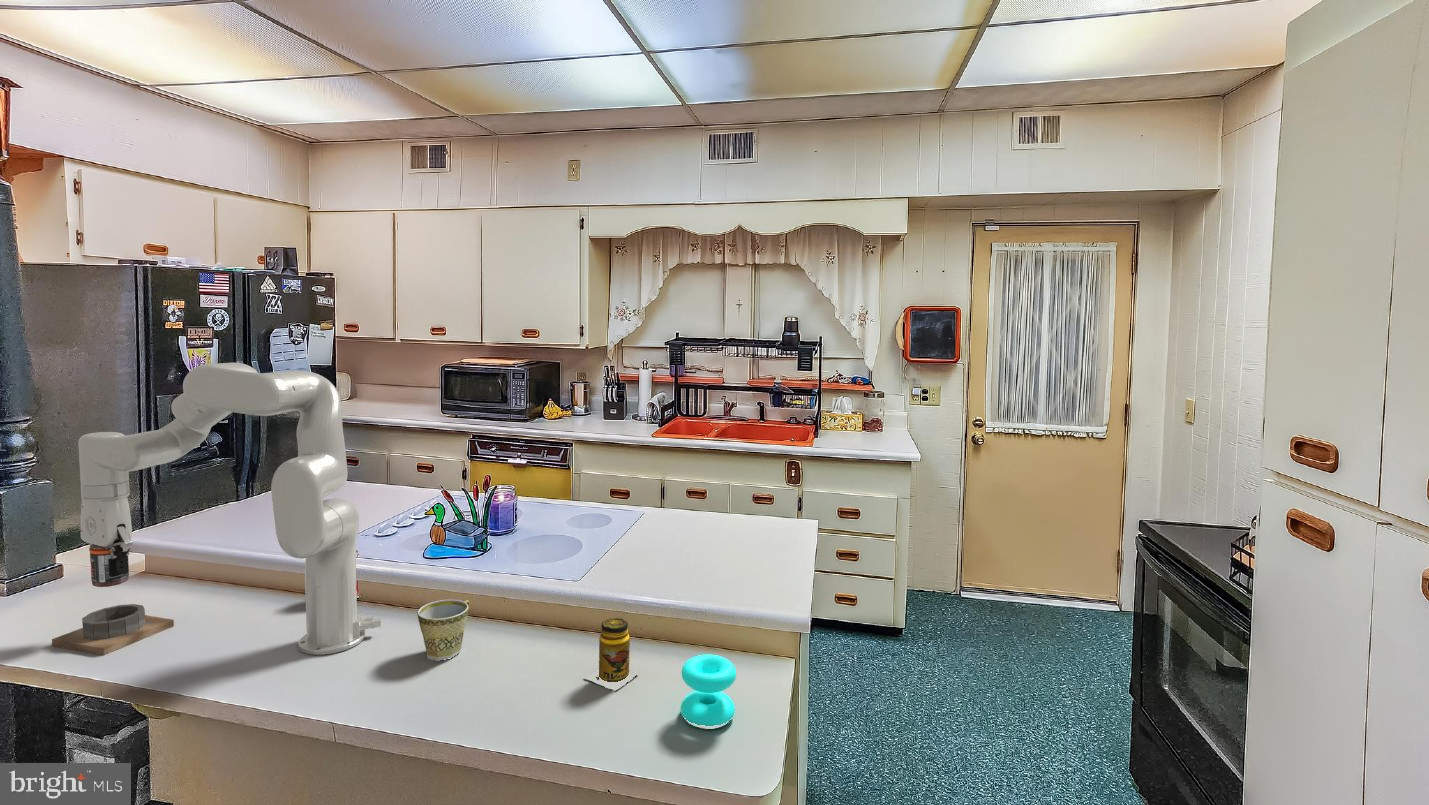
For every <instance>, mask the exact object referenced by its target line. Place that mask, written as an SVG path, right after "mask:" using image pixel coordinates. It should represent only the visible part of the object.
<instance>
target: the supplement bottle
mask: <svg viewBox="0 0 1429 805" xmlns="http://www.w3.org/2000/svg"><path fill="white" fill-rule="evenodd" d="M118 542H121V541H120V540H115V541H114V542H113V543H118ZM89 547H90V551H89V561H90V576H91V577H90V578H91V580H90V581H91V584H92V586H93V587H95V588H96V587H97V588H108V587H109V588H110V587H114V586H118V585H121V584H123V583H126V582H127V581H128V580H129V579H130V571H129V572H128V573H126V574H122V575H119V576H115V577H110V576H109V563H108V559H110V558H111V557H110V553H109V549H108V546H107V547H101V546H97V545H94V544H92V545H91V546H90V545H89ZM118 547H120V545H119V546H114V548H115V551H116V550H117V548H118Z"/></svg>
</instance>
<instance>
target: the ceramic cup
mask: <svg viewBox="0 0 1429 805" xmlns="http://www.w3.org/2000/svg"><path fill="white" fill-rule="evenodd" d="M470 604H471V603H470V600H468V599H462V600H459V599H442V600H436V601H431V602H428V603H426V604H424V605H422V606H421V607H420V608H419V609H418V610H417V618H418V619H417V620H418V624H419V627H420V630H421V634H422V638H423V642H424V646H425V653H426V657H427V659H428V660H429V659H431V660H430V661H433V660H435V661H434V662H437V661H439V662H441V661H440V660H444V659H448V658H452V657H453V656H455V655H457V654H458V653H461V650H462V645H463V638H464V633H465V629H466V628H465V627H466V625H467V624H466V623H467V618H468V614H469V609H470V606H471V605H470ZM458 655H459V654H458ZM458 655H457V656H458ZM455 657H456V656H455ZM452 659H453V658H452ZM444 661H445V660H444Z"/></svg>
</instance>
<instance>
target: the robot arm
mask: <svg viewBox="0 0 1429 805" xmlns="http://www.w3.org/2000/svg"><path fill="white" fill-rule="evenodd" d="M182 392H183V393H181V394H180V395H178V396H177V397H175V398H174V399H173V401H172V402H171V412H172V415H173V416H174V419H173V420H172V421H171V422H168V423H167V424H166V425H165V426H163V427H162V428H160V429H157V430H155V429H154V430H149V431H143V432H139V433H134V434H133V433H132V434H126V435H125V434H124V433H122V432H117V431H99V432H98V431H97V432H90V433H86V434H82V435H81V436H80V437H79V439H78V446H77V447H78V460H79V476H80V494H81V497H80V498H81V506H80V539H81V540H82V541H83V542H84V543H87V544H88V545H89V547H88V552H90V546H91V545H92V544H94V545H97V546H101V547H107V546H108V549H109V553H110V557H111V558H110V559H108V563H109V576H110V577H115V576H119V575H122V574H126V573H128V572H129V573H130V569H129V568H130V567H129V564H130V563H129V555H130V549H131V547H132V546H133V544H134V543H133V541H132V537H133V536H132V535H133V527H132V516H131V515H132V514H131V510H130V504H129V499H128V497H129V496H130V495H131V493H130V492H131V491H130V472H134V471H139V470H143V469H148V468H150V467H151V468H152V467H155V466H159V465H163V464H164V465H165V464H169V463H171V462H174V461H177V460H178V459H180V458H182V457H183V456H185V455H187V454H188V453H189V452H190V451H192V450H194V449H195V448H196V447H198V446H200V445H201V444H202V443H203V442H204V441H205V440H206V439H207V437H208V435H209V434H210V431H211V429H212V427H213V426H215V425H217V423H220V422H221V421H222V420H223V419H225V418H226V417H227V416H229V415H230V414H233V413H237V414H242V415H243V414H244V415H250V416H261V417H262V416H264V417H267V416H275V415H280V414H285V413H290V412H294V411H295V412H296V411H298V412H299V413H300V417H299V420H298V423H297V426H296V440H297V451H298V452H297V457H293V458H290V459H288V460H286V461H284V462H282V463H281V464H280V465H279V466H278V467H277V469H276V470H275V472H274V474H273V477H272V479H271V485H270V486H271V490H270V491H271V502H272V510H273V519H274V527H275V528H274V529H275V534H276V540H277V542H278V545H279V547H280V548H281V550H282V551H283V552H284V553H285V555H286V554H287V555H288V556H289V557H292V558H294V559H299V560H301V559H302V560H303V559H305V560H304V587H305V588H304V590H305V591H304V593H305V621H306V622H305V623H306V634H305V635H303V636H302V637H301V638H300V640H299V641H298V643H297V644H298V650H299V651H300V652H302V653H304V654H307V655H312V656H314V655H315V656H319V655H321V656H323V655H331V654H337V653H340V652H343V651H346V650H349V649H352V648H354V647H355V646H357V645H359V644H360V643H361V642H362V641H364V640H365V637H366V630H370V629H376V628H381V624H382V623H381V618H379V617H378V618H375V619H374V616H366V617H364V618H362V617H360V616H359V613H358V608H357V605H358V604H357V602H358V601H357V600H358V599H356V550H357V542H358V536H359V530H360V517H359V512H358V510H357V509H356V507H355V506H354V504H352V503H351V502H350V501H348V500H346V499H343V498H337V497H335V498H327V499H324V500H323V498H324V497H327V496H329V495H332V494H333V493H336V492H338V491H339V490H341V489H343V487H344V486H345V485H346V483H347V480H348V463H347V454H346V443H345V437H344V427H343V408H342V406H343V405H342V401H341V397H340V393H339V392H338V389H337V388H336V386H335V385H334V384H333V383H332V382H331V381H330V380H329V379H327V378H326V377H324V376H323V375H320V374H318V373H315V372H312V371H308V370H284V371H283V370H282V371H276V372H272V371H271V372H263V373H262V372H258V371H257V370H256V369H255V368H254V367H252V366H250V365H248V364H245V363H242V362H223V363H221V362H220V363H208V364H201V365H199V366H196V367H194V368H193V369H191V370H190V371H189V372H188V373H187V374H186V376H185V377H184V379H183V382H182ZM115 540H120V541H121V542H118V543H113V542H114V541H115ZM119 545H120V547H118V548H117V550H116V551H115V548H114V546H119Z"/></svg>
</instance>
